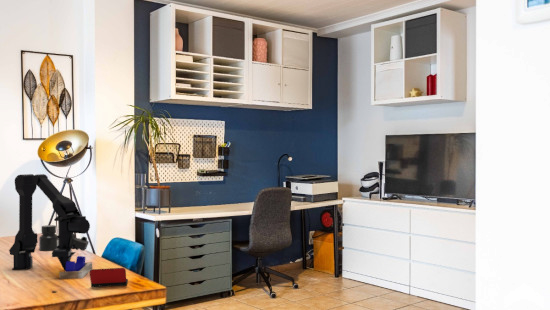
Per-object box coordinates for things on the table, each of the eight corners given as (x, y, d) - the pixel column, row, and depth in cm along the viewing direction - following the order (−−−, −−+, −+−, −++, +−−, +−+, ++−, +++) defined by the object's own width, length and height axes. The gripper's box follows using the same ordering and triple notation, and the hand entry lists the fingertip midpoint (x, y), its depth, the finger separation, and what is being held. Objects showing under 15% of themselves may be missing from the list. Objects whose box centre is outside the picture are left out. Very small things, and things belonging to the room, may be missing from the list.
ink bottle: (62, 249, 282) (62, 225, 282) (47, 251, 275) (47, 227, 275) (50, 247, 288) (50, 224, 288) (35, 250, 280) (35, 226, 280)
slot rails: (59, 279, 214) (59, 272, 214) (71, 268, 233) (71, 262, 233) (82, 278, 215) (82, 271, 215) (92, 268, 234) (92, 262, 234)
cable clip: (73, 270, 229) (74, 255, 229) (84, 271, 229) (85, 256, 229) (61, 276, 217) (62, 261, 217) (72, 277, 217) (73, 262, 217)
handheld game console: (128, 281, 210) (128, 262, 210) (125, 288, 199) (125, 267, 199) (93, 283, 208) (93, 263, 208) (89, 290, 197) (89, 269, 197)
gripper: (81, 235, 215) (81, 275, 215) (91, 228, 234) (91, 265, 234) (51, 235, 214) (51, 276, 214) (63, 229, 232) (64, 266, 232)
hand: (66, 271), depth 224 cm, fingers closed
